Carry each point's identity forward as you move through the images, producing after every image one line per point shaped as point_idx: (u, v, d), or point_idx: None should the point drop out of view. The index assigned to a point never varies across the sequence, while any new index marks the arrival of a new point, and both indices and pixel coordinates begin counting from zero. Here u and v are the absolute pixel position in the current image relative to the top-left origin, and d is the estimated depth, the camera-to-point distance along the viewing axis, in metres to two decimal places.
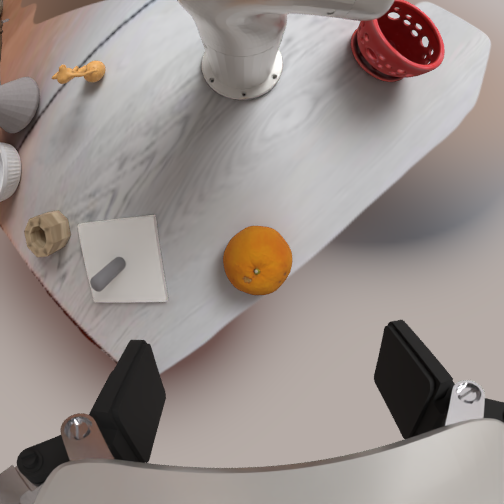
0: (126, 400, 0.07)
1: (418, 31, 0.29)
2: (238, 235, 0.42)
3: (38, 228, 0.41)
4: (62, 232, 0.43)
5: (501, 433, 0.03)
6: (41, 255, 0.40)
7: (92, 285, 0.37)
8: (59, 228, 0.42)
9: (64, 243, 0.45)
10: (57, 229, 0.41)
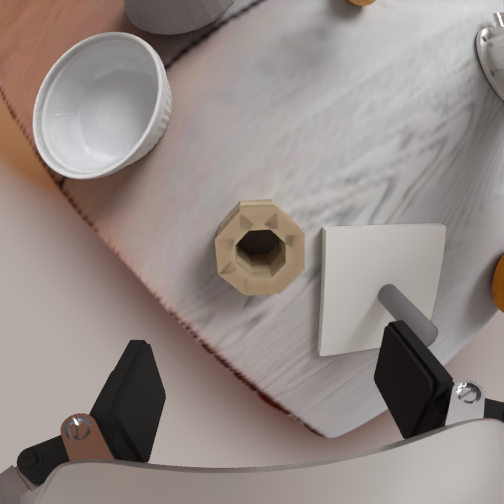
0: (126, 400, 0.07)
1: None
2: None
3: None
4: None
5: (501, 433, 0.03)
6: (261, 292, 0.24)
7: None
8: None
9: None
10: None
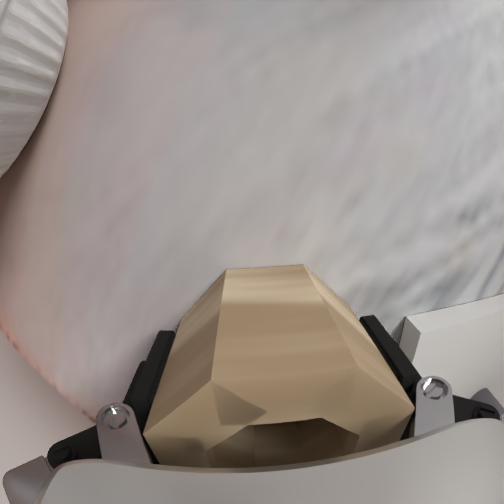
0: None
1: None
2: None
3: None
4: None
5: (501, 433, 0.03)
6: None
7: None
8: None
9: None
10: None
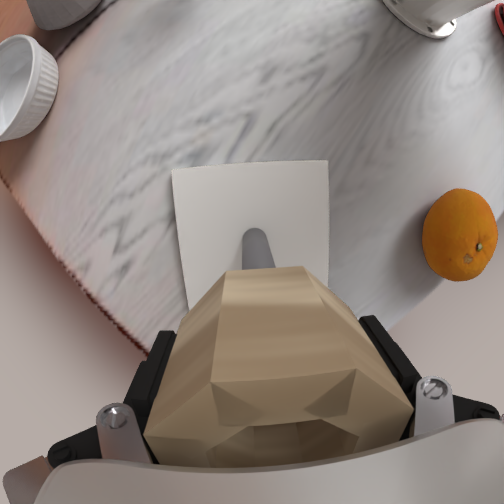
0: None
1: None
2: (453, 198, 0.24)
3: None
4: None
5: (501, 433, 0.03)
6: None
7: None
8: None
9: None
10: None
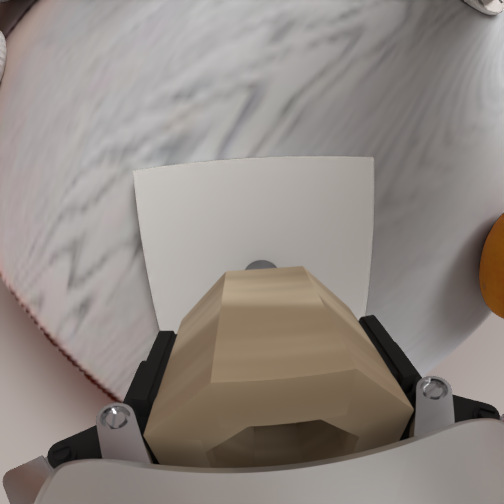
0: None
1: None
2: None
3: None
4: None
5: (501, 433, 0.03)
6: None
7: None
8: None
9: None
10: None
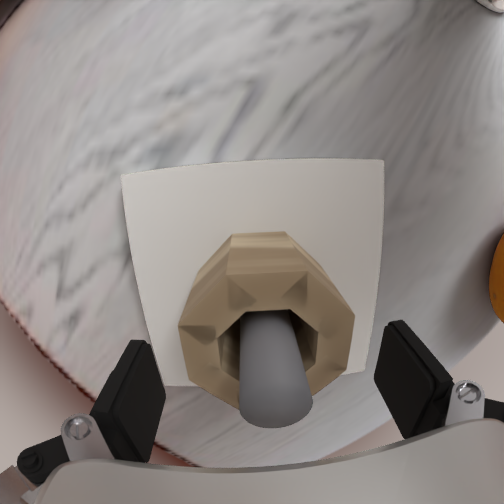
0: (127, 400, 0.07)
1: None
2: None
3: None
4: None
5: (501, 433, 0.03)
6: None
7: (248, 412, 0.08)
8: None
9: None
10: None
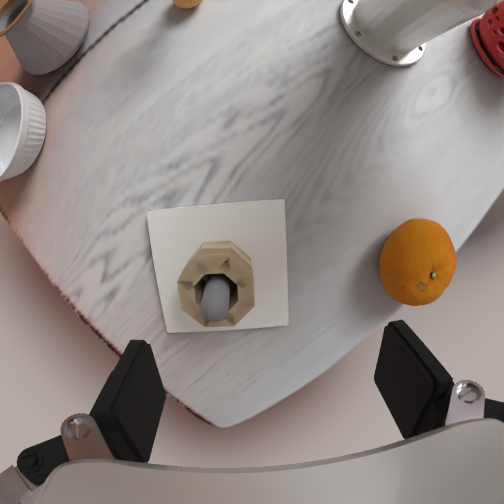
0: (127, 400, 0.07)
1: None
2: (408, 229, 0.28)
3: None
4: None
5: (501, 433, 0.03)
6: (218, 324, 0.27)
7: (203, 312, 0.24)
8: None
9: None
10: None
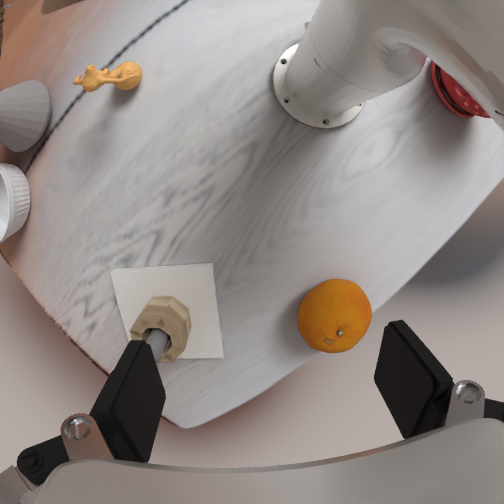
0: (126, 400, 0.07)
1: None
2: (319, 292, 0.36)
3: None
4: (187, 328, 0.37)
5: (501, 433, 0.03)
6: (160, 360, 0.35)
7: None
8: (185, 326, 0.37)
9: None
10: (184, 328, 0.36)
